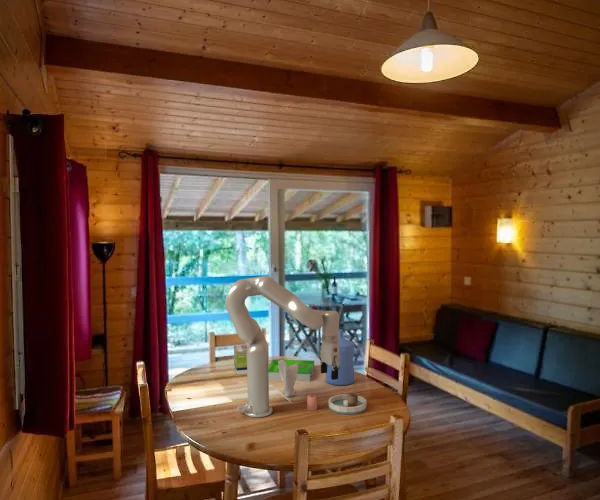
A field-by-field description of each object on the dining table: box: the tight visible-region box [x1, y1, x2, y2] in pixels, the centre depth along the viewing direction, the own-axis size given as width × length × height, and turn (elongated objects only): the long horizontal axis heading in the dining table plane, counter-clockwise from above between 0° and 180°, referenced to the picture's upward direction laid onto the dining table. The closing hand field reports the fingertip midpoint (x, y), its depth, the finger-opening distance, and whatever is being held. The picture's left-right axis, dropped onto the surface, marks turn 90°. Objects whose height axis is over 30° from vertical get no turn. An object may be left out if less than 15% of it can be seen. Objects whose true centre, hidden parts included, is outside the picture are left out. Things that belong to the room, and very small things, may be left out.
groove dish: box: [327, 393, 368, 416], centre depth 208 cm, size 17×17×3 cm
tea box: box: [233, 344, 248, 374], centre depth 263 cm, size 15×10×15 cm, turn 14°
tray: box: [268, 359, 315, 382], centre depth 260 cm, size 25×25×5 cm
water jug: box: [325, 328, 355, 386], centre depth 245 cm, size 16×16×28 cm
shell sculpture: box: [278, 359, 298, 398], centre depth 224 cm, size 8×8×18 cm
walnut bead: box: [347, 393, 359, 407], centre depth 204 cm, size 4×4×6 cm
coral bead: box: [306, 394, 318, 412], centre depth 206 cm, size 4×4×6 cm
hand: (329, 376), depth 205 cm, fingers open, 9 cm apart
